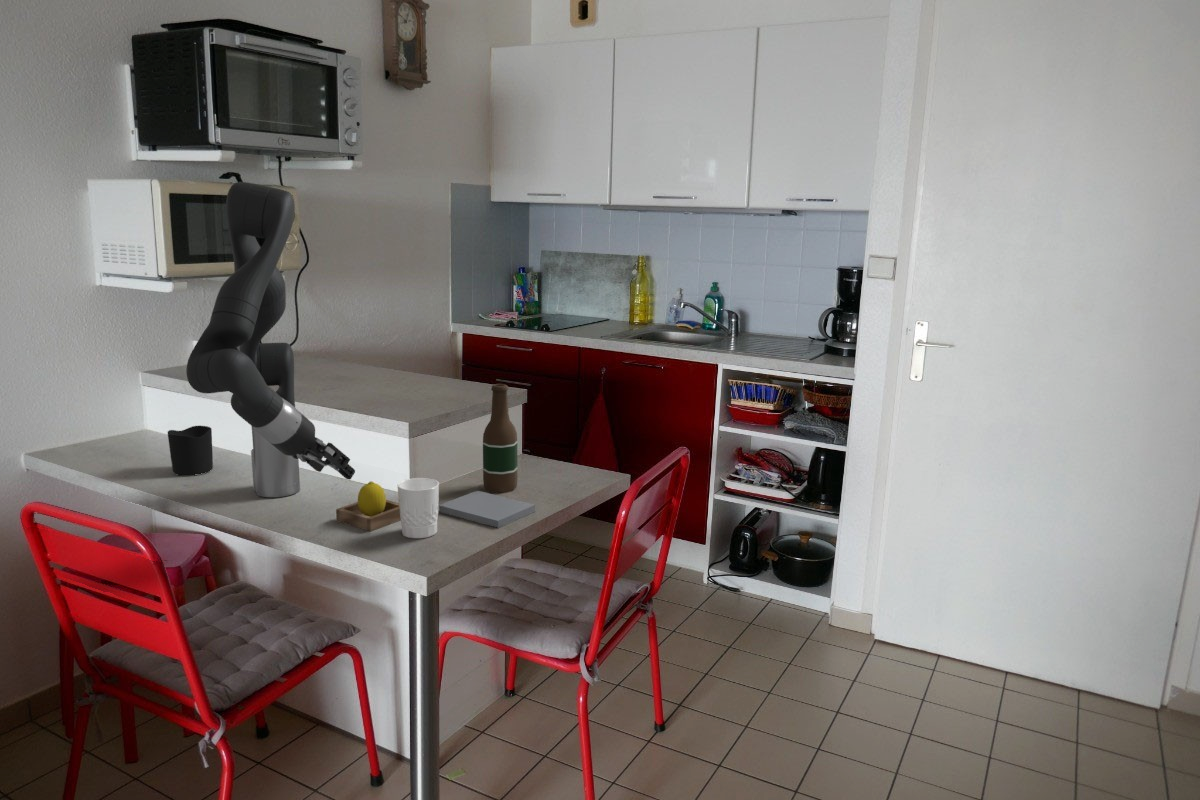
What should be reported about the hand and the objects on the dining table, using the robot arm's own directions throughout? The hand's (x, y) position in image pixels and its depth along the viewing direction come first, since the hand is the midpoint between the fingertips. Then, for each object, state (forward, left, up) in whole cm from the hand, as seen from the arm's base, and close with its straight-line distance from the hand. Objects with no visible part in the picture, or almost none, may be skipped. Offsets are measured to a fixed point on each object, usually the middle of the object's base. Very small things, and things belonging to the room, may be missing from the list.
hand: (336, 471), depth 170 cm
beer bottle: (+8, +39, -12) cm, 42 cm away
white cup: (+13, +9, -12) cm, 20 cm away
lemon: (0, +8, -12) cm, 15 cm away
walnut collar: (0, +8, -12) cm, 15 cm away
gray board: (+16, +25, -12) cm, 32 cm away
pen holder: (-59, +6, -12) cm, 61 cm away
